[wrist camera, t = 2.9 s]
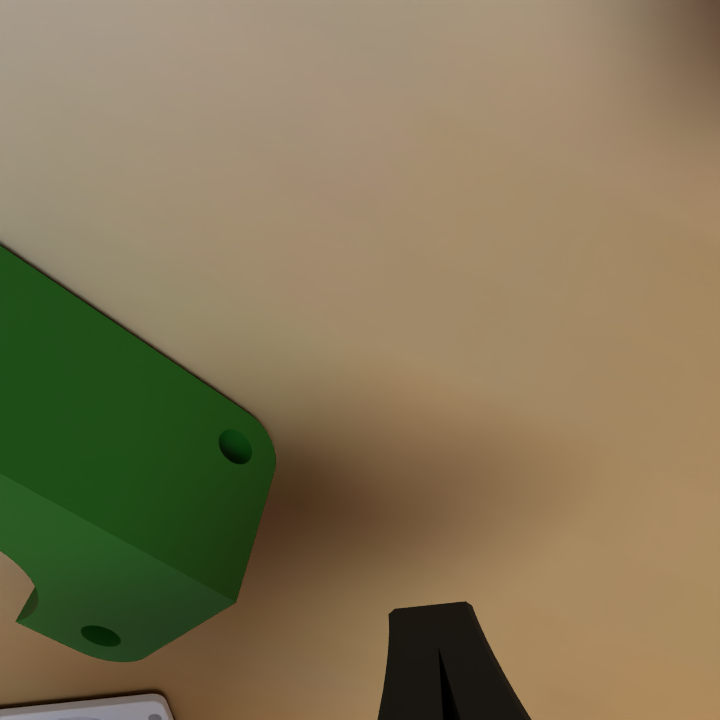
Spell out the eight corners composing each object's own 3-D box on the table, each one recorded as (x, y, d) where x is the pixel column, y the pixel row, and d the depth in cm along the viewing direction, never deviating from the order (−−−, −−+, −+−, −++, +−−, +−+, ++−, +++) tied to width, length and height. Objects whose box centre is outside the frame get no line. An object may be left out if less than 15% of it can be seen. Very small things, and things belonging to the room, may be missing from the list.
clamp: (-3, 308, 23) (-346, 417, 15) (69, 193, 20) (-321, 258, 12) (216, 571, 23) (-13, 812, 15) (323, 500, 20) (101, 759, 12)
